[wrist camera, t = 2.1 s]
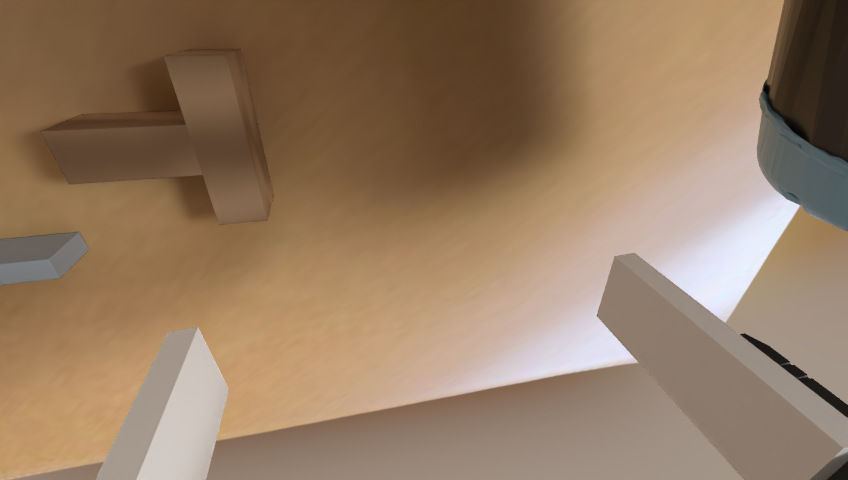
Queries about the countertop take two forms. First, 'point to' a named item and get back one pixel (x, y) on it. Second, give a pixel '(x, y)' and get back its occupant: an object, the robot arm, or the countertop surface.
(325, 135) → the countertop surface
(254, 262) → the countertop surface
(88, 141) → the tee block
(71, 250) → the corral
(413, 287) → the countertop surface
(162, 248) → the countertop surface
